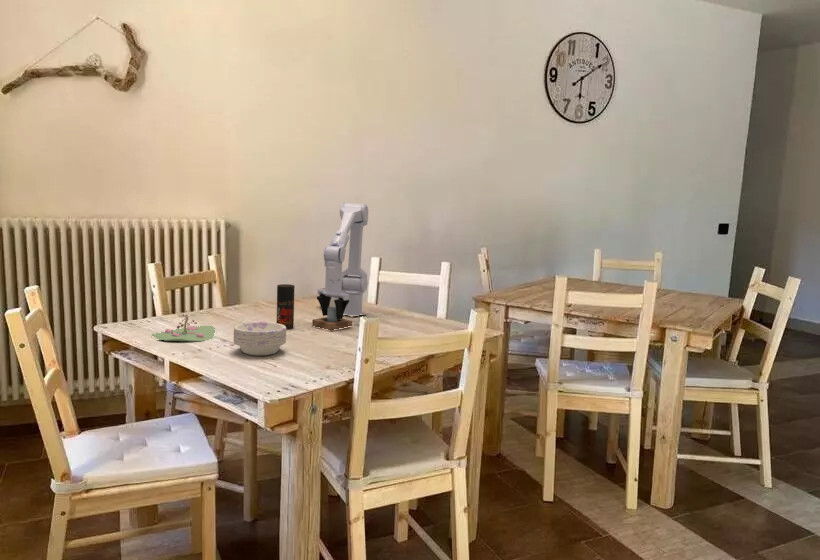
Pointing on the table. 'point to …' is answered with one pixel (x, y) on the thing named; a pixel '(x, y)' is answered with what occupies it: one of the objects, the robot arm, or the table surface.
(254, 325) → the paper bowls
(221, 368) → the table surface
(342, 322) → the socket block
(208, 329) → the plant
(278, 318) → the deodorant
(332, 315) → the peg
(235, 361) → the table surface
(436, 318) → the table surface
